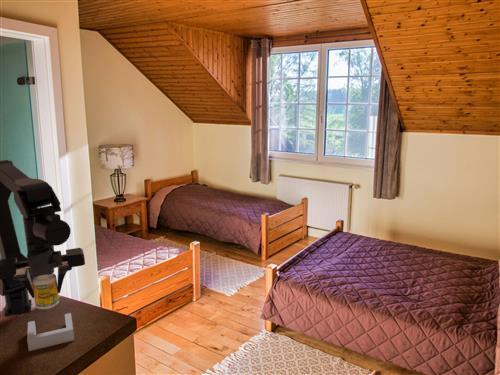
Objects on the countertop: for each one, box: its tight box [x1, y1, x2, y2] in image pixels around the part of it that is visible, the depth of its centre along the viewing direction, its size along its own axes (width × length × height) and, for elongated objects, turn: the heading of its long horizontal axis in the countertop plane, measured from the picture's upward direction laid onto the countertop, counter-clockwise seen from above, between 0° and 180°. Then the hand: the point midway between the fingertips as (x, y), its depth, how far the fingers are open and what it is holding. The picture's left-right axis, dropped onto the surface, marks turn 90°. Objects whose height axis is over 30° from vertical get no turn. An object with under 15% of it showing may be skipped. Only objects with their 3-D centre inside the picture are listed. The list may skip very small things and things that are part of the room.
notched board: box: [26, 312, 75, 352], centre depth 104 cm, size 8×10×3 cm
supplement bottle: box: [32, 273, 60, 310], centre depth 102 cm, size 5×5×10 cm
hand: (46, 294), depth 103 cm, fingers closed on supplement bottle, 5 cm apart
